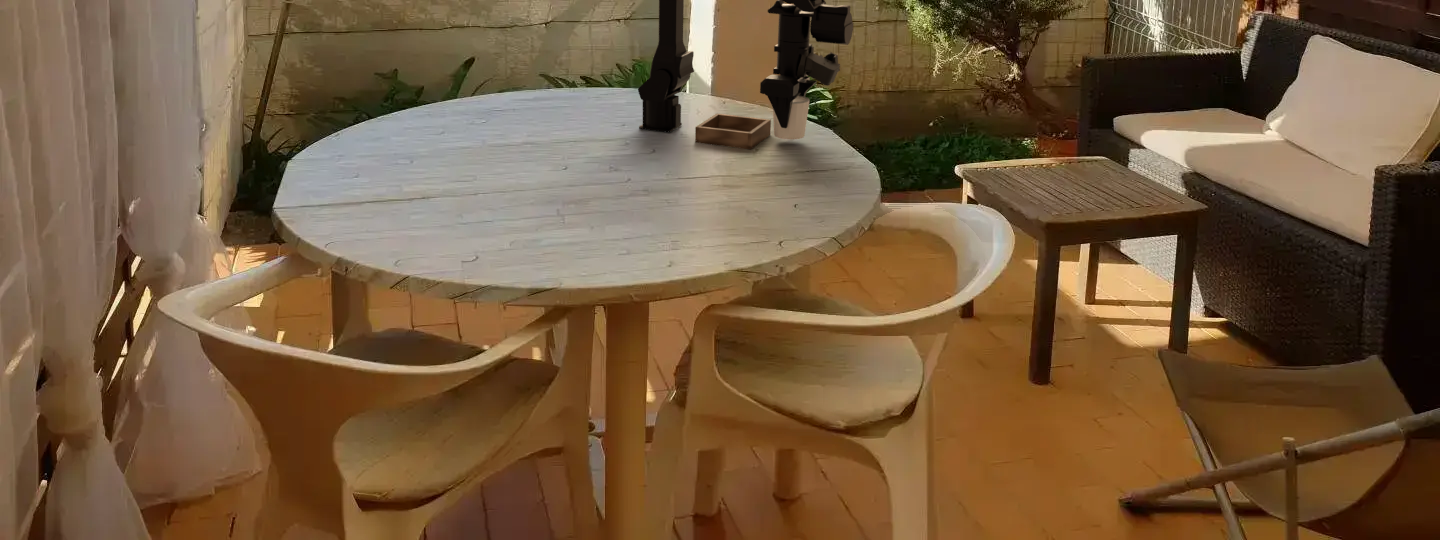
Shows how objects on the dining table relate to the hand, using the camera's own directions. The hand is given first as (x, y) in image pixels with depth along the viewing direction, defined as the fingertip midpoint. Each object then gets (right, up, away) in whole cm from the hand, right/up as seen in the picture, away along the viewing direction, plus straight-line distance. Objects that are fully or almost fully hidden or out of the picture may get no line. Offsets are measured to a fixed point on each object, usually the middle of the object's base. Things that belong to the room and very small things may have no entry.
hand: (789, 123), depth 234 cm
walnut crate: (-10, -2, +3) cm, 11 cm away
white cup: (0, -2, +1) cm, 2 cm away
